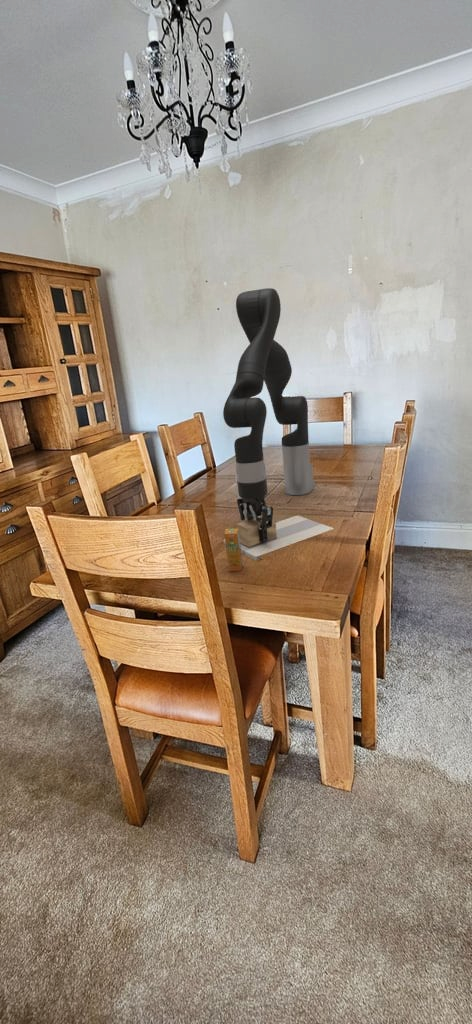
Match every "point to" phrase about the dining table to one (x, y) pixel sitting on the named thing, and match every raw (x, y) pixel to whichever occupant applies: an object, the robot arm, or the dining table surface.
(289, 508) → the dining table surface
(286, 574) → the dining table surface
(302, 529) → the board
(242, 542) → the block
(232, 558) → the supplement box
